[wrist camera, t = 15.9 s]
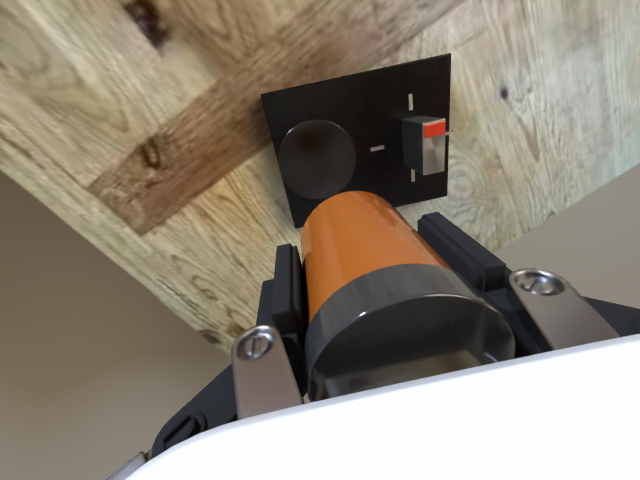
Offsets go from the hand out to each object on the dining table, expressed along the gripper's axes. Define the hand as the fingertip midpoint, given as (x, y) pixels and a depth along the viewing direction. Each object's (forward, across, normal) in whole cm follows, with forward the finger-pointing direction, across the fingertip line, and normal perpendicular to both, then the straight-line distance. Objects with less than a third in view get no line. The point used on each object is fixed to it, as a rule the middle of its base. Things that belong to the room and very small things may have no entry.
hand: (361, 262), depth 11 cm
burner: (+20, 0, 0) cm, 20 cm away
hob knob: (+20, -10, 0) cm, 22 cm away
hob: (+22, -5, 0) cm, 23 cm away
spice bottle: (+2, 0, 0) cm, 2 cm away
